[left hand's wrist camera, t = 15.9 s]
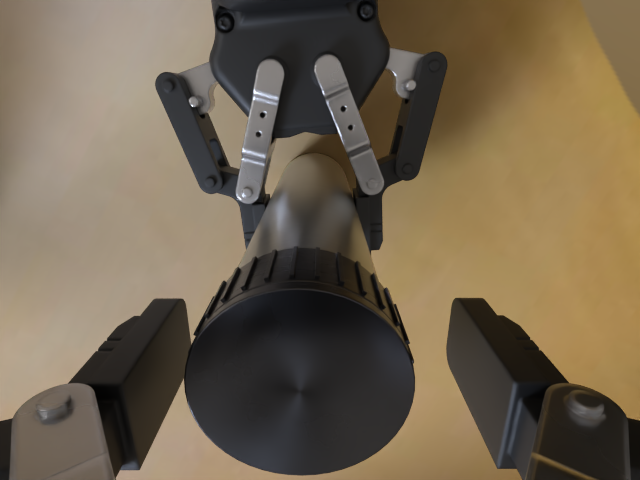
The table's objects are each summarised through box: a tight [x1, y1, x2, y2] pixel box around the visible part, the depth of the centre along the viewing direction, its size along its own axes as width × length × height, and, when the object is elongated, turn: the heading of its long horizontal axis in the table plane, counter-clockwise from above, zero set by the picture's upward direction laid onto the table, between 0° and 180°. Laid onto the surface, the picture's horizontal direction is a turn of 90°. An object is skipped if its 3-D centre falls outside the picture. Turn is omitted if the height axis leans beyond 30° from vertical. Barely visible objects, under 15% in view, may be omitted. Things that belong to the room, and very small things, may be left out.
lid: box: [184, 246, 415, 475], centre depth 10 cm, size 5×5×2 cm
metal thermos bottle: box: [238, 153, 379, 281], centre depth 19 cm, size 5×5×20 cm
